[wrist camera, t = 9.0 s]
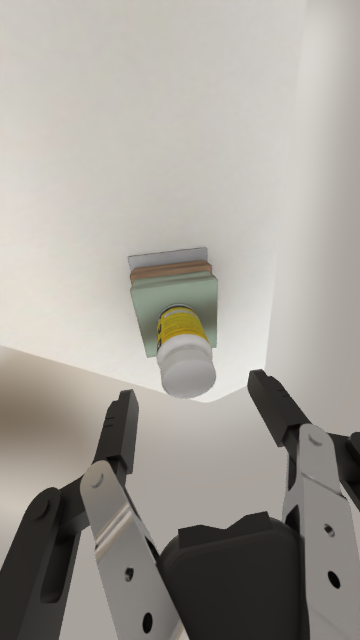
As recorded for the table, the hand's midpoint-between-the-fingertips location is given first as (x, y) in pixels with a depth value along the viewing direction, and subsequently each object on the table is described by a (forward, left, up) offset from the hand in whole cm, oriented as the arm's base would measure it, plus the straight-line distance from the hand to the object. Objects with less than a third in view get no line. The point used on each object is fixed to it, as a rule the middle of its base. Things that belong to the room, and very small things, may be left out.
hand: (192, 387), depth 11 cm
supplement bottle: (0, 0, -9) cm, 9 cm away
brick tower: (0, 0, -18) cm, 18 cm away
